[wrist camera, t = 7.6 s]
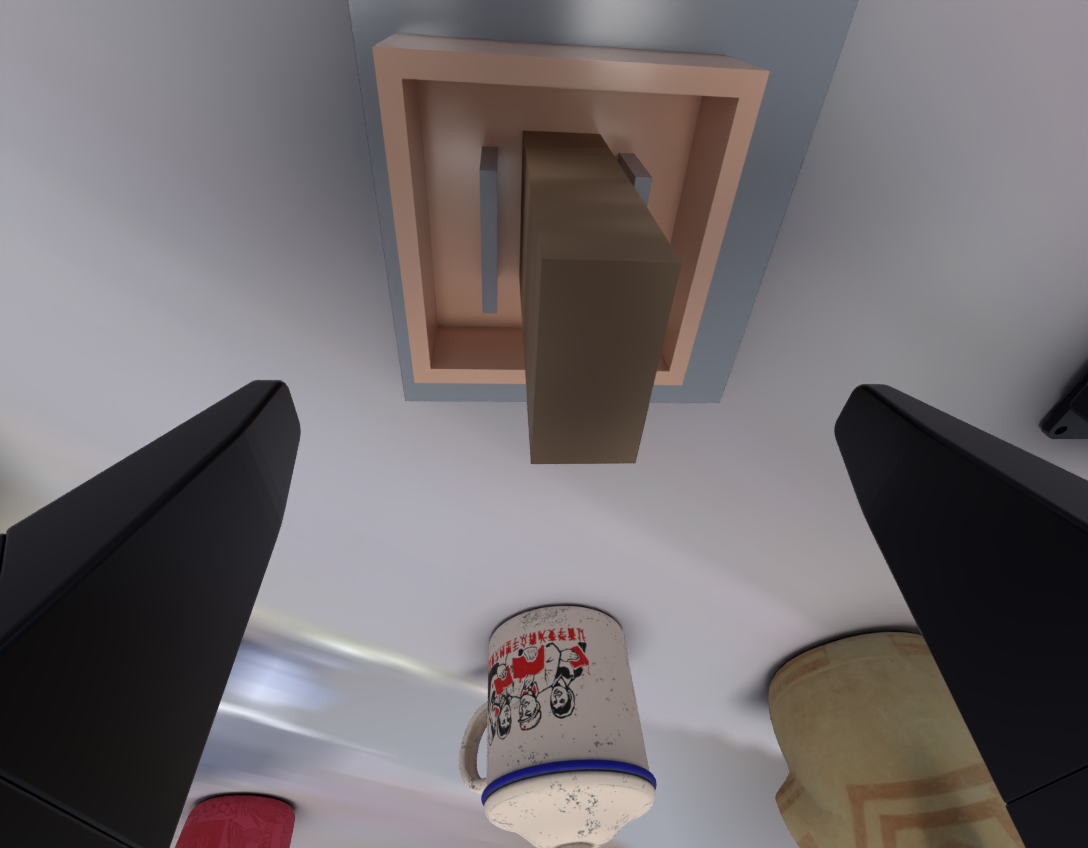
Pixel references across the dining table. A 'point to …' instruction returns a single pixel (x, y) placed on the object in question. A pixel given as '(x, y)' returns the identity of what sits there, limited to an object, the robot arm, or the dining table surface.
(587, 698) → the teacup with lid
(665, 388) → the slate board
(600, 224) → the beveled wooden wedge block
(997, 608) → the robot arm
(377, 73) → the open square box
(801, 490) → the dining table surface
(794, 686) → the ceramic vessel
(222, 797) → the wine bottle
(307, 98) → the dining table surface
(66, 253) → the dining table surface
